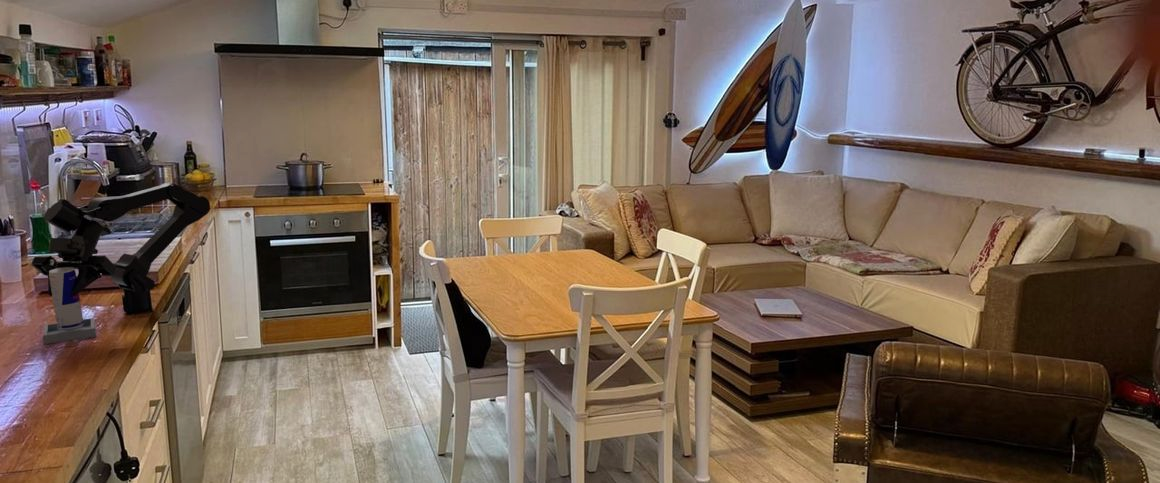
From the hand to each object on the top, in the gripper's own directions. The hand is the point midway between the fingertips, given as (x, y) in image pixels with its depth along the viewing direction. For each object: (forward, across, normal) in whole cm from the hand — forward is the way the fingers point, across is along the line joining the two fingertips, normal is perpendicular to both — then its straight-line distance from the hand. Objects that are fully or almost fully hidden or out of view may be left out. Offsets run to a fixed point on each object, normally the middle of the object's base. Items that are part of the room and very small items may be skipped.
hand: (61, 295), depth 205 cm
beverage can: (+5, 0, +7) cm, 9 cm away
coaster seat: (+6, 0, +8) cm, 10 cm away
